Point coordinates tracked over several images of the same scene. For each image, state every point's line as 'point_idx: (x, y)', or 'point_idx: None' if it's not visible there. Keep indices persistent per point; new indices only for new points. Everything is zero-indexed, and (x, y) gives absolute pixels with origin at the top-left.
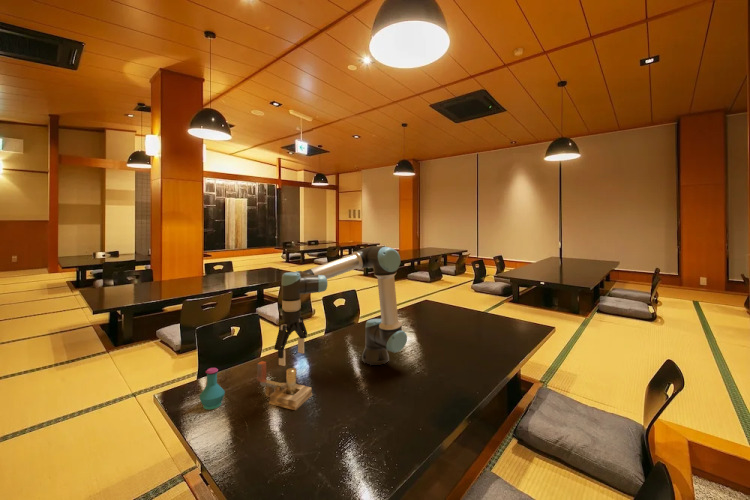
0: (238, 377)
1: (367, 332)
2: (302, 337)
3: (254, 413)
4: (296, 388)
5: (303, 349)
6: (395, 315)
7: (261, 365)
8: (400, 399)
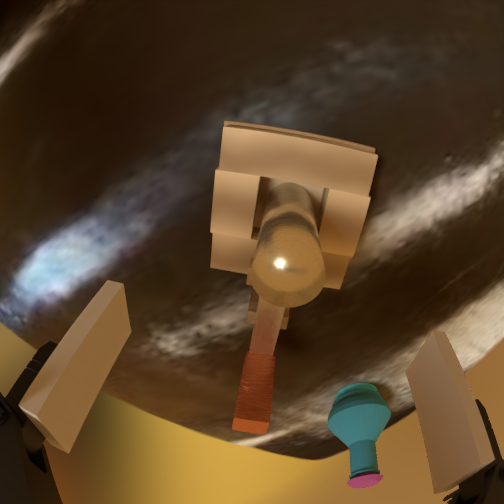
0: (201, 403)
1: None
2: (24, 428)
3: (402, 287)
4: (254, 201)
5: (99, 309)
6: None
7: (269, 419)
8: None
